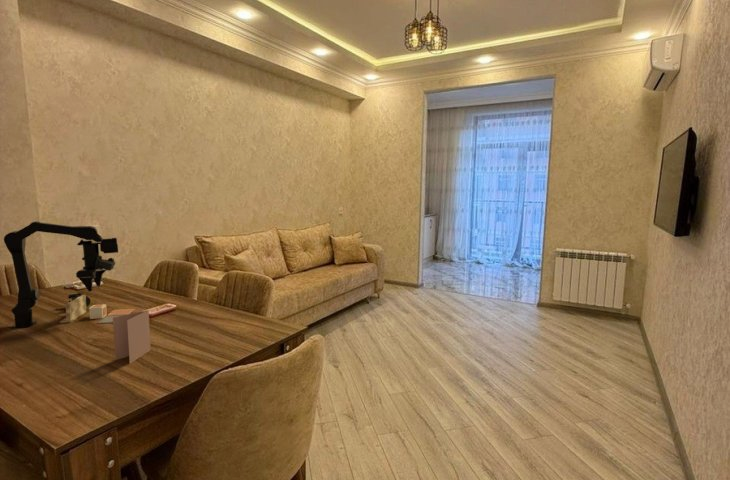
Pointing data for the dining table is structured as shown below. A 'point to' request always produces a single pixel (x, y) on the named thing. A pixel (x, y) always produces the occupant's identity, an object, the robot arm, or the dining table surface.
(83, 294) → the end cap
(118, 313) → the terracotta tile
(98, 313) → the marked cube
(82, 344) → the dining table surface
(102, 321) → the slate tile
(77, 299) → the beech screen
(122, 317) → the greeting card
